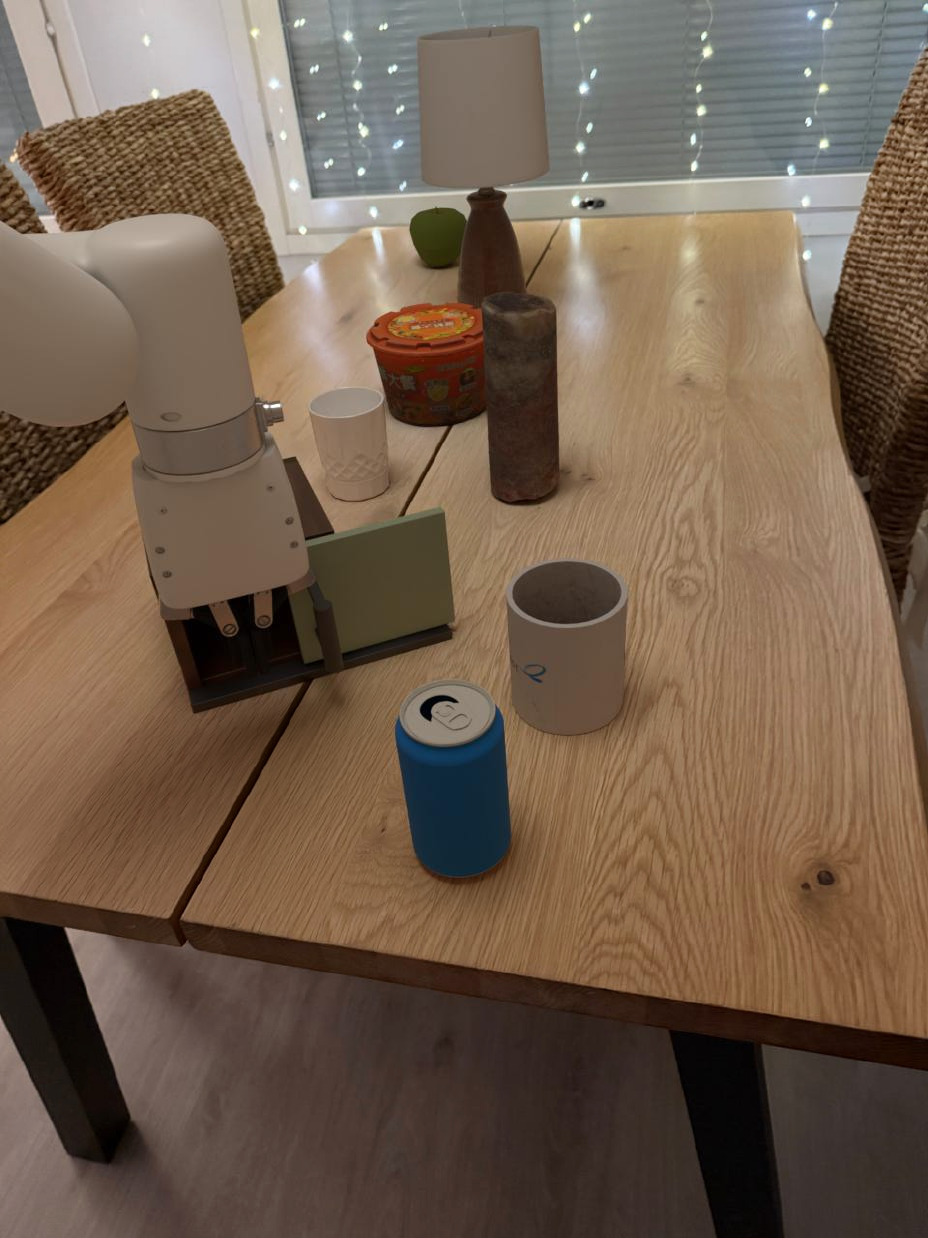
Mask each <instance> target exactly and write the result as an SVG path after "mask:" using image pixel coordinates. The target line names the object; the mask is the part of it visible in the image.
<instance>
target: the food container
mask: <svg viewBox="0 0 928 1238" xmlns="http://www.w3.org/2000/svg"><path fill="white" fill-rule="evenodd" d="M365 337H366V338H365V339H366V344H367V345H369V346H370V347H372V351H373V354H374V358H375V361H376V366H377V369H378V373H379V377H380V382H381V384H382V388H383V394H384V397H385V400H386V403H387V408H388V410H389V411H388V412H389V413H390V414H391V415H392V416H393V417H394V418H395V419H397V420H398V421H401V422H403V423H406V424H408V425H413V426H421V427H436V426H437V427H439V426H448V425H455V424H459V423H463V422H465V421H468V420H470V419H472V418H474V417H477V416H478V415H479V414H481V413H482V412H484V411H485V410H486V409H487V403H486V382H485V364H484V342H483V327H482V309H481V308H479V309H474V308H473V306H472V305H469V304H463V303H457V302H450V301H449V302H444V304H432V303H431V302H425V303H417V304H411V305H408V306H403V307H401V308H400V310H399V311H393V310H392V311H388V312H386V313H384V314H382V315H380V316H379V317H378V318H376V319H375V320H374V322H373V325H372V326H370V328H369V329H368V330H367V331H366V334H365Z"/></svg>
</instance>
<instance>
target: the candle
mask: <svg viewBox="0 0 928 1238" xmlns="http://www.w3.org/2000/svg"><path fill="white" fill-rule="evenodd" d="M481 309H482V327H483V342H484V364H485V382H486V403H487V407H486V421H487V440H488V463H489V479H490V492H491V495H493V497H495V498H498V499H501V500H503V501H505V502H509V503H512V502H516V501H518V500H519V501H522V500H537V499H539V498H541V497H544V496H546V495H547V494H548V493H550V492H552V491H553V490H554V488H556V487H555V486H556V485H557V484H558V482H559V481H560V432H559V431H560V429H559V428H560V427H559V425H560V423H559V401H558V400H559V387H558V327H557V326H558V323H557V321H558V319H557V318H558V317H557V308H556V306H555V303H554V302H553V300H551V299H550V298H548V297H547V296H544V295H534V294H529V293H527V294H520V293H514V292H500V293H497V294H493V295H490V296H487V297H484V298H483V301H482V304H481Z"/></svg>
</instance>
